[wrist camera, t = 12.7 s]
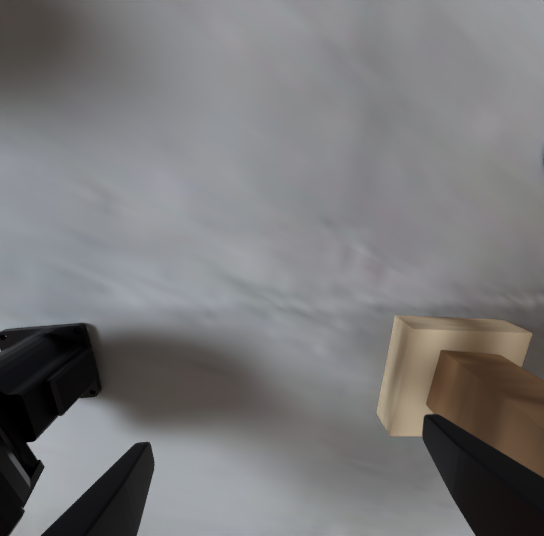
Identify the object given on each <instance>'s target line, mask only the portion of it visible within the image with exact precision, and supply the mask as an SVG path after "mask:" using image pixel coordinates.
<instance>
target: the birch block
mask: <svg viewBox="0 0 544 536" xmlns="http://www.w3.org/2000/svg"><path fill="white" fill-rule="evenodd" d="M532 334H533V333H531V332H529V331H527V330H525V329H523V328H520V327H518V326H516V325H514V324H512V323H509V322H507V321H505V320H498V319H473V318H448V317H423V316H399V315H395V319H394V325H393V330H392V335H391V340H390V345H389V351H388V356H387V361H386V366H385V372H384V377H383V382H382V387H381V393H380V398H379V403H378V408H377V415H378V417H379V418H380V420H381V422H382V423H383V425H384V427H385V429H386V430H387V432H388V434H389V435H390V436H422V429H423V419H424V416H425V415H426V414H434V413H433V412H432V411H431V410H430V409H429V408H428V406H427V405H426V402H427V398H428V395H429V391H430V387H431V384H432V380H433V377H434V373H435V369H436V366H437V362H438V359H439V355H440V351H441V350H450V351H462V352H474V353H485V354H497V355H501V356H503V357H505V358H506V359H508V360H510V361H511V362H513V363H515V364H516V365H518V366H520V367H521V368H522V365H523V361H524V358H525V355H526V352H527V349H528V346H529V343H530V340H531V337H532Z"/></svg>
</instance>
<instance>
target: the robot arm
mask: <svg viewBox="0 0 544 536" xmlns="http://www.w3.org/2000/svg"><path fill="white" fill-rule="evenodd" d="M77 329H79V330H80V332H78V331H77ZM0 349H1V352H0V536H9V535H10V534H11V533H12V531H13V530H14V528H15V527H16V526H17V524H18V523H19V521H20V520H21V518H22V516H23V514H24V512H25V511H24V509H23V508H24V506H25V504H26V502H27V500H28V499H29V497H30V495H31V493H32V491H33V489H34V487H35V485H36V483H37V481H38V479H39V477H40V475H41V473H42V471H43V469H44V467H45V466H44V465H43V463H42V462H41V460H37V458H36V457H35V455H34V454H33V452H32V451H31V449H30V448H29V446H28V445H27V443H26V442H33V441H35V440H36V439H37V438H38V437H39V436H40V435H41V434H42V433H43V432H44V431H45V430H46V429H47V428H48V427H49V426H50V424H51V423H52V422H53V421H54V420H55V419H56V418H57V417H58V416H62V415H64V414H65V412H66V411H67V410H68V409H69V408H70V407H71V406H72V405H73V404H74V403H75V402H76V401H77V400H78V398H88V397H96V396H97V395H98V394H99V393H100V392H101V390H102V388H101V384H100V380H99V374H98V370H97V366H96V362H95V358H94V354H93V351H92V348H91V344H90V341H89V337H88V333H87V329H86V327H85V326H84V325H83V324H79V323H78V324H66V325H53V326H41V327H28V328H16V329H5V330H3V331H1V332H0ZM93 389H94V390H95V391H94V390H93ZM422 437H423V441H424V443H425V445H426V447H427V449H428V451H429V453H430V455H431V457H432V459H433V461H434V463H435V465H436V467H437V469H438V471H439V473H440V475H441V477H442V479H443V481H444V482H445V484H446V486H447V488H448V490H449V492H450V494H451V496H452V498H453V499H454V501H455V503H456V504H457V506H458V508H459V509H460V511H461V513H462V514H463V516H464V518H465V519H466V521H467V522H468V524H469V526H470V527H471V529H472V531H473V532H474V534H475V535H476V536H544V478H543V477H542V476H540V475H538V474H537V473H535V472H533V471H532V470H530V469H528V468H527V467H525V466H524V465H522V464H520V463H519V462H517V461H515V460H514V459H512V458H510V457H509V456H507V455H505V454H504V453H502V452H500V451H499V450H497V449H495V448H494V447H492V446H491V445H489V444H487V443H486V442H484V441H482V440H481V439H479V438H477V437H476V436H474V435H472V434H471V433H469V432H467V431H466V430H464V429H462V428H461V427H459V426H458V425H456V424H454V423H453V422H451V421H449V420H448V419H446V418H444V417H443V416H441V415H439V414H426V415H425V416H424V419H423V429H422ZM153 471H154V457H153V453H152V448H151V444H150V443H149V442H140V443H136V444H134V445H133V446H132V447H131V448H130V449H129V450H128V451H127V452H126V453H125V454H124V455H123V456H122V457H121V458H120V459H119V460H118V461H117V462H116V463H115V464H114V465H113V466H112V467H111V468H110V469H109V470H108V471H107V472H106V473H104V474H103V475H102V476H101V477H100V478H99V479H98V480H97V481H96V482H95V483H94V484H93V485H92V486H91V487H90V488H89V489H88V490H87V491H86V492H85V493H84V494H83V495H82V496H81V497H80V498H79V499H78V500H77V501H76V502H75V503H74V504H73V505H72V506H71V507H70V508H69V509H68V510H67V511H66V512H64V513H63V514H62V515H61V516H60V517H59V518H58V519H57V520H56V521H55V522H54V523H53V524H52V525H51V526H50V527H49V528H48V529H47V530H46V531H45V532H44V533H43V534H42V535H41V536H137V533H138V529H139V526H140V522H141V518H142V514H143V510H144V506H145V503H146V499H147V495H148V491H149V487H150V483H151V479H152V475H153Z"/></svg>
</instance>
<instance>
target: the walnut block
mask: <svg viewBox="0 0 544 536" xmlns="http://www.w3.org/2000/svg"><path fill="white" fill-rule="evenodd" d="M426 405H427V406H428V408H429V409H430V410H431V411H432V412H433V413H434V414H439V415H441V416H443V417H444V418H446V419H448V420H449V421H451V422H453V423H454V424H456V425H458V426H459V427H461V428H462V429H464V430H466V431H467V432H469V433H471V434H472V435H474V436H476V437H477V438H479V439H481V440H482V441H484V442H486V443H487V444H489V445H491V446H492V447H494V448H495V449H497V450H499V451H500V452H502V453H504V454H505V455H507V456H509V457H510V458H512V459H514V460H515V461H517V462H519V463H520V464H522V465H524V466H525V467H527V468H528V469H530V470H532V471H533V472H535V473H537V474H538V475H540V476H542V477H543V478H544V381H543V380H542V379H540V378H538V377H537V376H535V375H533V374H532V373H530V372H528V371H526V370H525V369H523V368H521V367H520V366H518V365H516V364H515V363H513V362H511V361H510V360H508V359H506V358H505V357H503V356H501V355H497V354H485V353H474V352H462V351H450V350H441V351H440V355H439V359H438V362H437V366H436V369H435V373H434V377H433V380H432V384H431V387H430V391H429V395H428V398H427V402H426Z"/></svg>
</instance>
